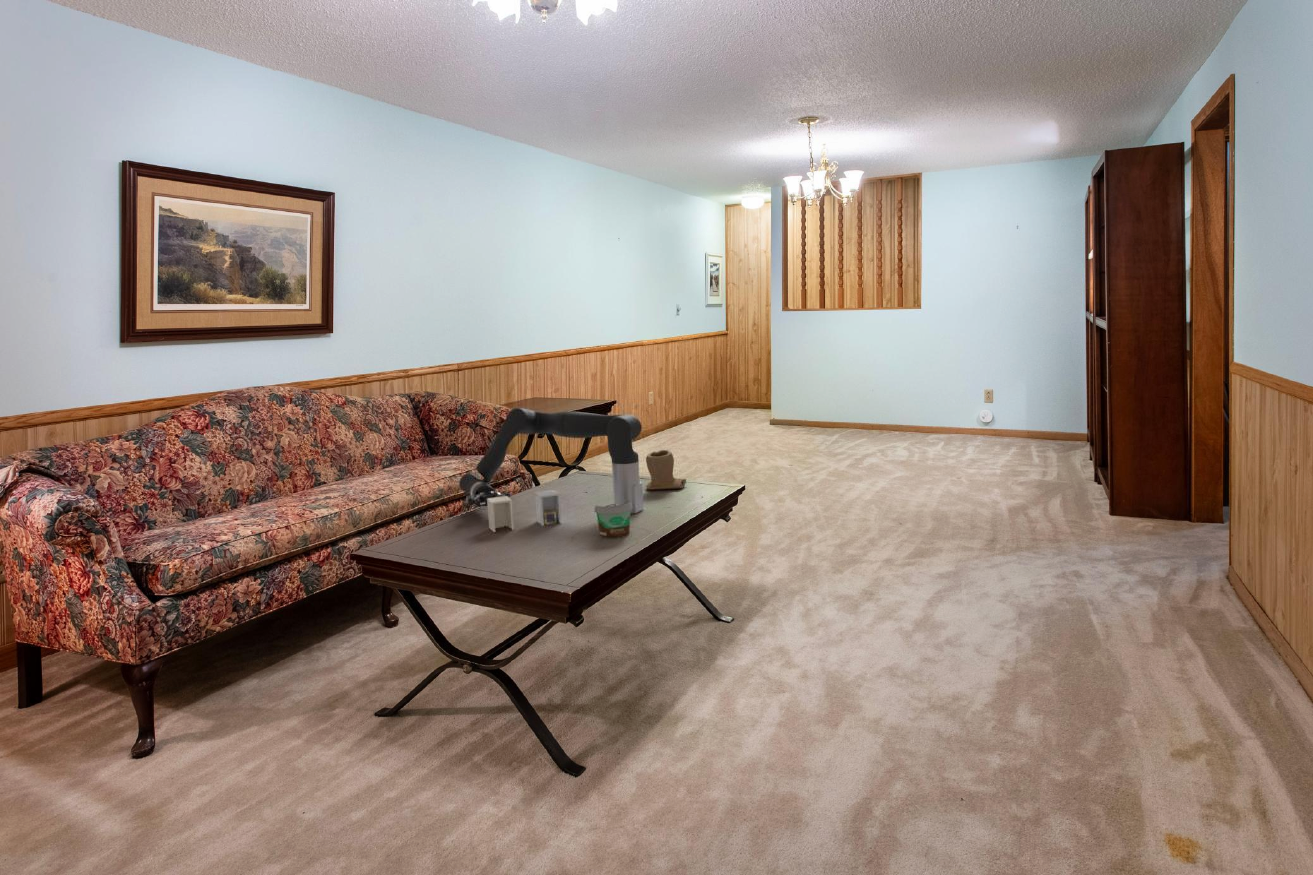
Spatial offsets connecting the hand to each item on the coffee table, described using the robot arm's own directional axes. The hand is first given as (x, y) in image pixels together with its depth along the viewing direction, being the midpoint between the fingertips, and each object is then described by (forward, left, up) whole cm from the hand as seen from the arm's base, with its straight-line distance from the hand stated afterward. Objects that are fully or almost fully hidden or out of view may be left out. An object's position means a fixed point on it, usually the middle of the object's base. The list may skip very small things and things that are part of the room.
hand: (492, 502), depth 285 cm
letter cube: (-19, -4, -7) cm, 21 cm away
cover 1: (-8, +7, -7) cm, 13 cm away
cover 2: (-19, -4, -7) cm, 21 cm away
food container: (-50, +5, -7) cm, 50 cm away
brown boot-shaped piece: (-36, -61, -7) cm, 71 cm away
